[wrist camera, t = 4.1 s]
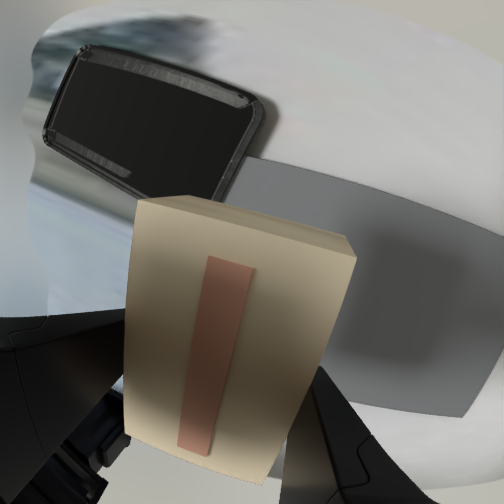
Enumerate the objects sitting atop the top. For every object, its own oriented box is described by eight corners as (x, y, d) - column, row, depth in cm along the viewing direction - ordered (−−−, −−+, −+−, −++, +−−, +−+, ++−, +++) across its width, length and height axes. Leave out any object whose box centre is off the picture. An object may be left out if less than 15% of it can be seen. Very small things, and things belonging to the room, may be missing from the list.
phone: (80, 42, 15) (270, 101, 14) (90, 47, 16) (274, 107, 15) (38, 141, 18) (200, 239, 16) (48, 142, 19) (208, 235, 17)
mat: (182, 347, 19) (178, 350, 18) (219, 151, 16) (216, 150, 15) (460, 413, 16) (462, 417, 15) (535, 252, 13) (539, 254, 12)
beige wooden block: (275, 429, 11) (261, 487, 8) (160, 389, 12) (123, 434, 9) (345, 235, 9) (357, 258, 6) (188, 195, 10) (135, 199, 7)
